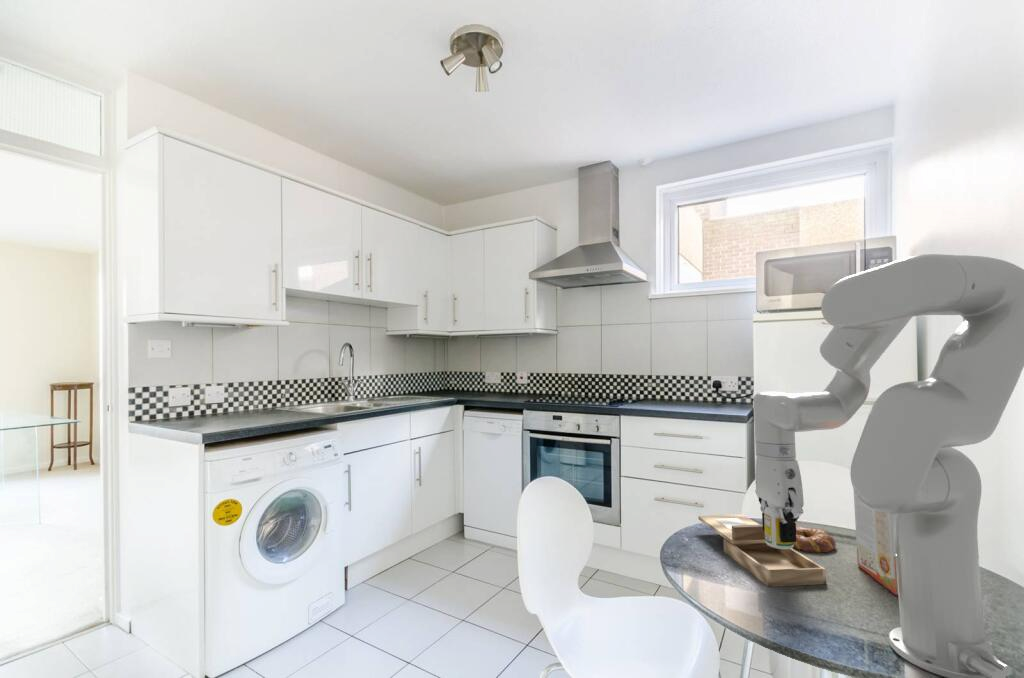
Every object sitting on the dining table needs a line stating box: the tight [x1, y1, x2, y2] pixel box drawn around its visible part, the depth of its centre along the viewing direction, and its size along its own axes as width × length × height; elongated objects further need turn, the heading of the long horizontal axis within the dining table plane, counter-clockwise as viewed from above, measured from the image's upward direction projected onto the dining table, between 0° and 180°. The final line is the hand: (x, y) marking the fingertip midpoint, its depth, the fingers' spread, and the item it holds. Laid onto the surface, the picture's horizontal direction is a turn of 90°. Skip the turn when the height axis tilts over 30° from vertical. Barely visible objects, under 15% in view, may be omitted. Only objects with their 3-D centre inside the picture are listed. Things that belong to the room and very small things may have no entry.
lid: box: [697, 514, 766, 544], centre depth 117 cm, size 18×12×4 cm, turn 3°
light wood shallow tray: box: [723, 538, 827, 588], centre depth 104 cm, size 18×12×3 cm, turn 3°
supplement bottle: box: [764, 502, 794, 549], centre depth 100 cm, size 5×5×10 cm
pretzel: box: [792, 525, 837, 553], centre depth 116 cm, size 12×11×4 cm
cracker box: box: [852, 487, 898, 596], centre depth 96 cm, size 14×6×21 cm, turn 168°
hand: (779, 535), depth 100 cm, fingers closed on supplement bottle, 5 cm apart
